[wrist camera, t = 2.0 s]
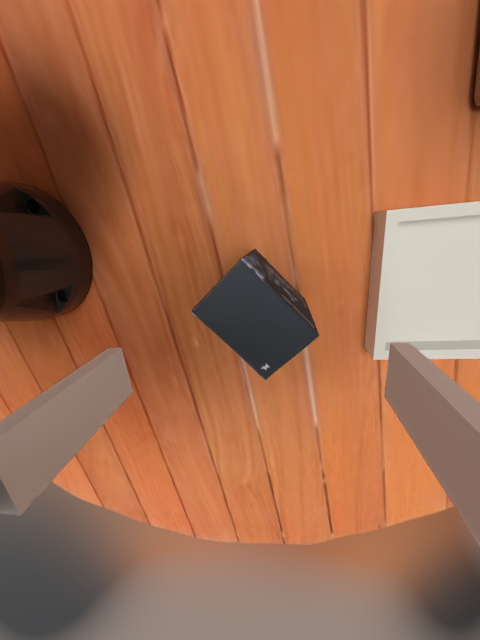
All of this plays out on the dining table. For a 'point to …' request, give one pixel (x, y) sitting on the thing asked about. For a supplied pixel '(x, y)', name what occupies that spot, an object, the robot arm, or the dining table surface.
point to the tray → (426, 281)
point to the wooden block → (477, 84)
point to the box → (258, 315)
